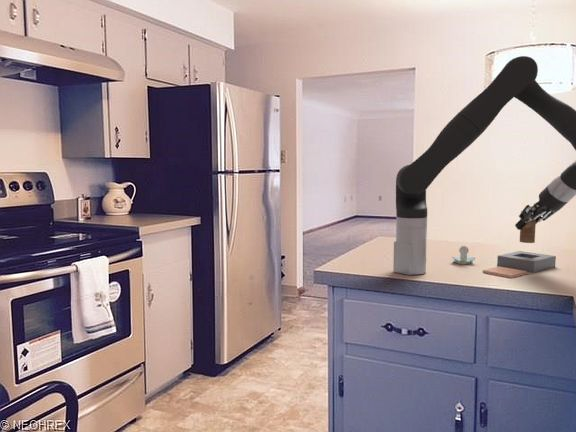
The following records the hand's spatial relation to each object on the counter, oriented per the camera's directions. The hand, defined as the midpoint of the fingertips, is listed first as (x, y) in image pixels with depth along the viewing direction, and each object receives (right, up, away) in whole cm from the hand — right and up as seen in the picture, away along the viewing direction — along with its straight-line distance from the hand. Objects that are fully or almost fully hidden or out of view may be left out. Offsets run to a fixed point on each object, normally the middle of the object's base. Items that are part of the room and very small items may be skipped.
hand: (522, 227), depth 160 cm
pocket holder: (+1, -13, 0) cm, 13 cm away
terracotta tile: (-10, -14, -10) cm, 20 cm away
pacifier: (-17, -13, +6) cm, 22 cm away
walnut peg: (+1, -5, -1) cm, 5 cm away
